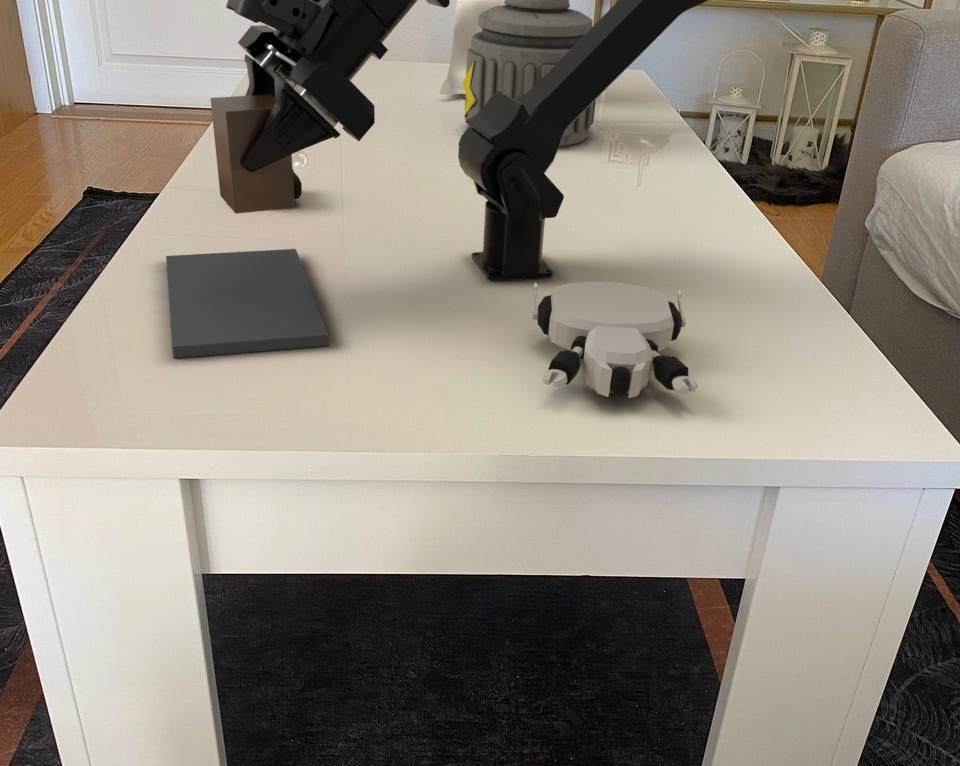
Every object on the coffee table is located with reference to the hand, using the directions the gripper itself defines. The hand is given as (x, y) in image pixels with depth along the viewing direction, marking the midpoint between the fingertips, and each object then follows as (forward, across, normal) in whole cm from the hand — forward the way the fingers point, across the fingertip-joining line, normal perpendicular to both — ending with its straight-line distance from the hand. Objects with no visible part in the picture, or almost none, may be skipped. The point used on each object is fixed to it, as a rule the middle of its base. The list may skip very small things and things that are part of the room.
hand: (236, 159), depth 80 cm
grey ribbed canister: (-29, -46, +46) cm, 71 cm away
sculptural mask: (-45, -74, +53) cm, 102 cm away
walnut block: (+2, 0, +4) cm, 4 cm away
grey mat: (+9, +1, +8) cm, 12 cm away
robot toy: (-7, +23, +25) cm, 35 cm away
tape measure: (+2, -27, +16) cm, 31 cm away
